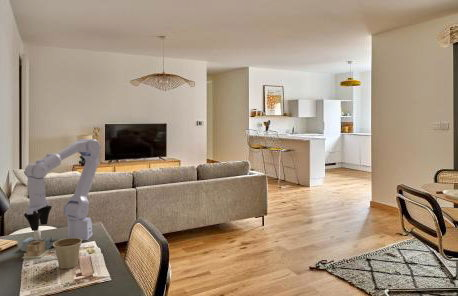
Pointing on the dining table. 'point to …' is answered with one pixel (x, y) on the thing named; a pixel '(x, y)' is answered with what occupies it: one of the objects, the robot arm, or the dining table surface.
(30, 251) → the collar
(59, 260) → the flower pot
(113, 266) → the dining table surface
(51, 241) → the vise
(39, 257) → the mat
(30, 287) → the dining table surface
